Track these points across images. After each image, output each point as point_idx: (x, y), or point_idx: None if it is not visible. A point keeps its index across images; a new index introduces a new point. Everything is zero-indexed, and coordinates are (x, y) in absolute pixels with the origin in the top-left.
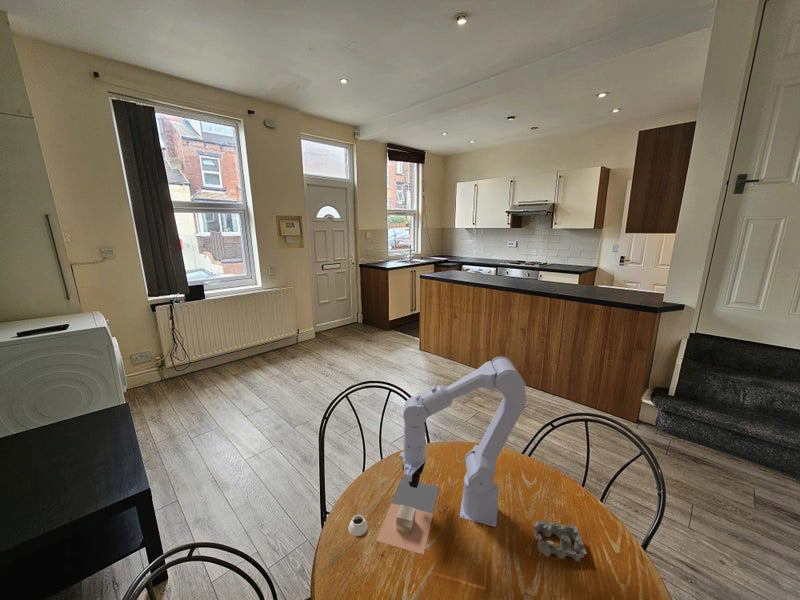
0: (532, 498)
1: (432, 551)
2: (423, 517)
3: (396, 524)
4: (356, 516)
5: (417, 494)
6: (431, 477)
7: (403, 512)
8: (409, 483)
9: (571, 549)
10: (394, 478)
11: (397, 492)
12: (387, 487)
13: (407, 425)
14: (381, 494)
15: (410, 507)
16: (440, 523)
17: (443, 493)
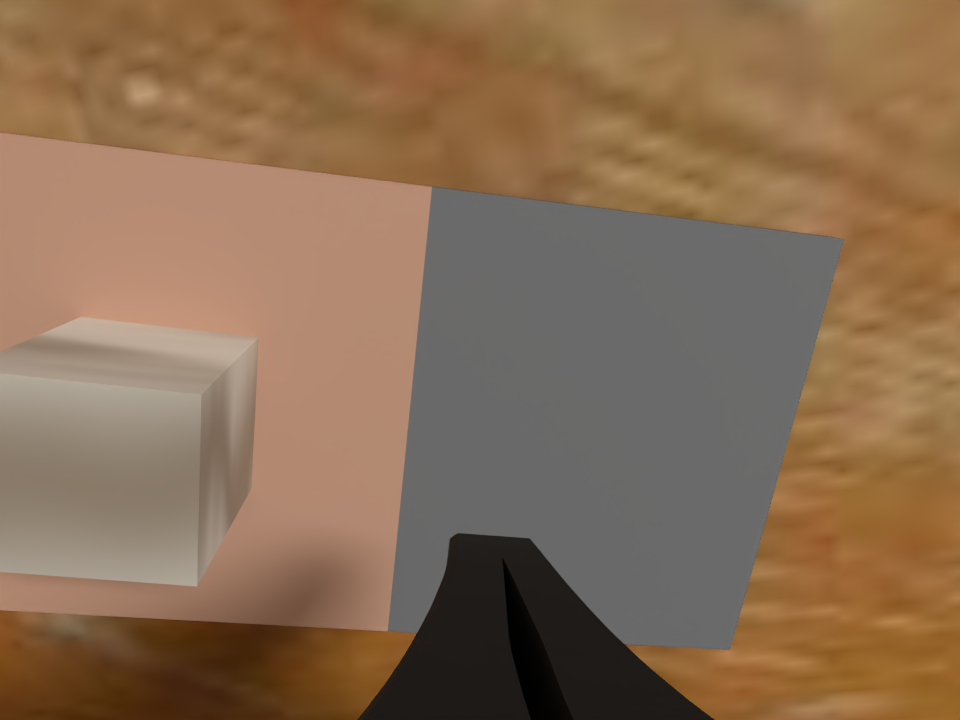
0: None
1: (16, 651)
2: (319, 556)
3: (37, 339)
4: None
5: (605, 461)
6: (867, 553)
7: (75, 451)
8: (450, 561)
9: None
10: (849, 144)
11: (607, 233)
12: (692, 79)
13: None
14: (568, 20)
15: (189, 526)
16: (317, 681)
17: (662, 674)
